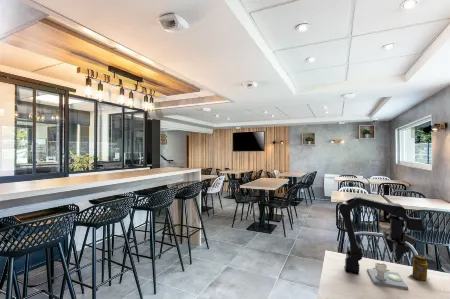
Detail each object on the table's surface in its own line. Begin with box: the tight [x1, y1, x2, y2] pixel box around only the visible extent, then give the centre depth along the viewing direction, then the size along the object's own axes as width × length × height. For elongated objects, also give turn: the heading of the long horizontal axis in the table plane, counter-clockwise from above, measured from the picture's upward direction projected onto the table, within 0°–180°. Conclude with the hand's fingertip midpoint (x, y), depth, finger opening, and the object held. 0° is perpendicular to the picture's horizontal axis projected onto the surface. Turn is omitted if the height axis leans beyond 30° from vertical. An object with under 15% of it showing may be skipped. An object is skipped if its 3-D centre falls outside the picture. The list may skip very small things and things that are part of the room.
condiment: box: [407, 254, 431, 285], centre depth 126 cm, size 7×8×12 cm
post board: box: [366, 268, 409, 290], centre depth 125 cm, size 15×13×6 cm
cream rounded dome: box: [372, 261, 390, 273], centre depth 124 cm, size 7×5×3 cm
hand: (394, 256), depth 124 cm, fingers open, 9 cm apart
